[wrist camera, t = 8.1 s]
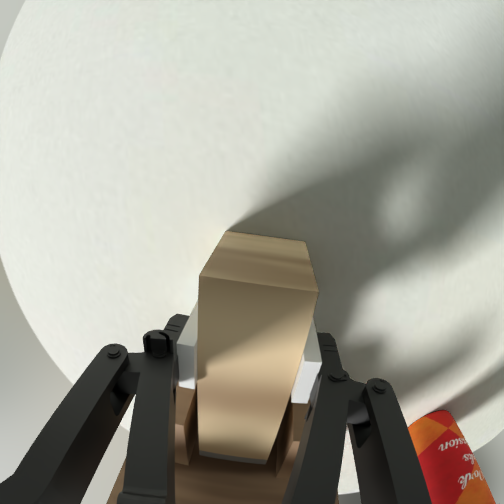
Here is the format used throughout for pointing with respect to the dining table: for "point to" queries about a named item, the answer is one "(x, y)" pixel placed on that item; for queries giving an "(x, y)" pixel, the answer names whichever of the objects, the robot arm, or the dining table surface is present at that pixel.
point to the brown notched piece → (228, 461)
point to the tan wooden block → (250, 341)
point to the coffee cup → (448, 461)
